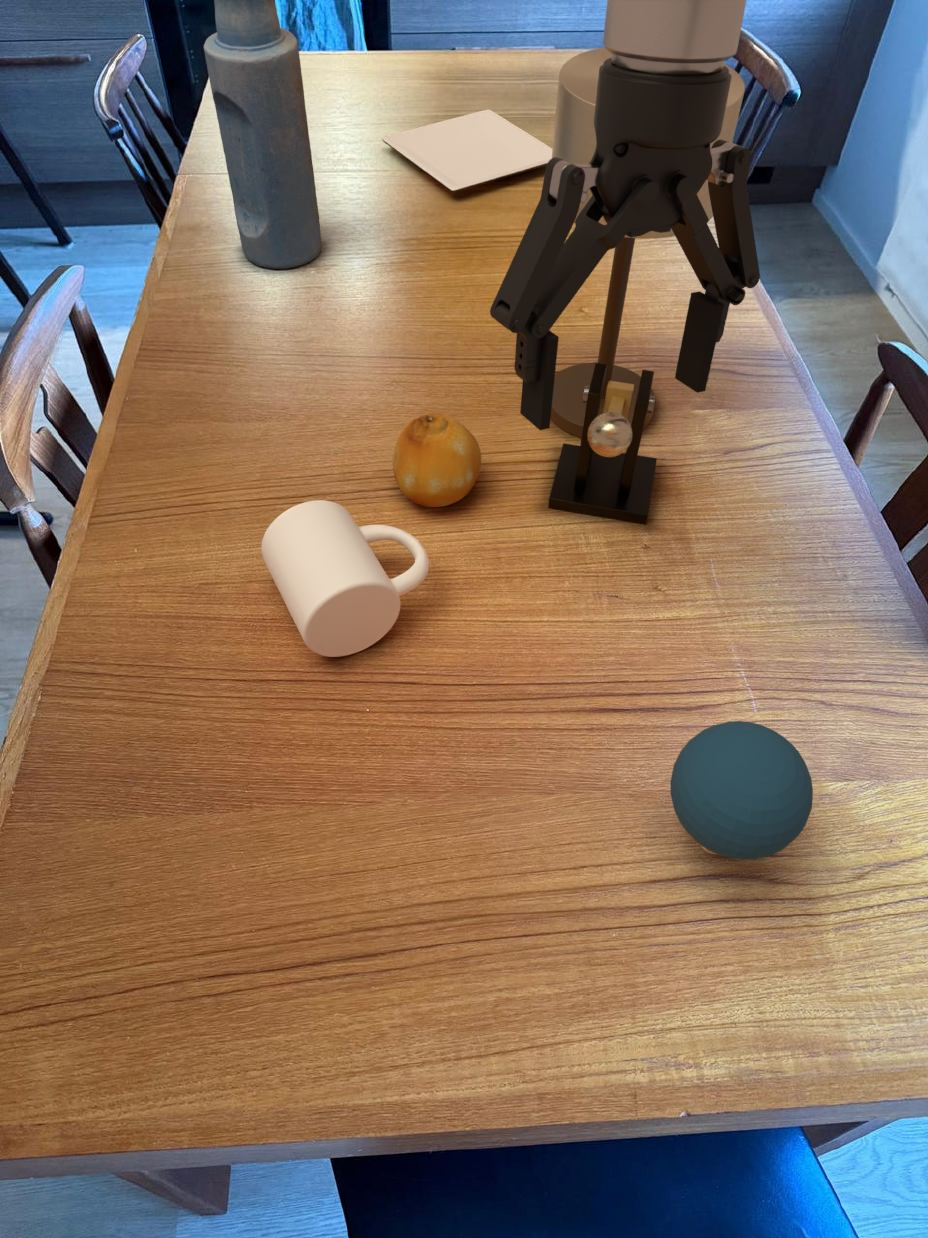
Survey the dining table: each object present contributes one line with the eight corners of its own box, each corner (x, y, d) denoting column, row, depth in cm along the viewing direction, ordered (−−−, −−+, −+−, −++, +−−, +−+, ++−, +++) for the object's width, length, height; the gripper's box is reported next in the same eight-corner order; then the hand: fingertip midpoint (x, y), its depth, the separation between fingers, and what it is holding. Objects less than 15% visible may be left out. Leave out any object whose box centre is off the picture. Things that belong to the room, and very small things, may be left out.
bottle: (338, 250, 110) (310, -43, 87) (274, 280, 106) (226, -21, 83) (289, 222, 114) (250, -65, 91) (226, 250, 110) (167, -45, 87)
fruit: (369, 447, 83) (390, 410, 76) (447, 427, 86) (474, 390, 79) (400, 528, 83) (424, 499, 75) (477, 506, 86) (507, 475, 78)
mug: (310, 671, 70) (297, 605, 64) (268, 585, 75) (252, 517, 69) (448, 619, 73) (448, 552, 67) (398, 540, 79) (394, 472, 73)
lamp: (661, 461, 86) (741, 126, 63) (518, 438, 88) (544, 104, 64) (673, 376, 95) (748, 54, 71) (543, 357, 97) (574, 36, 73)
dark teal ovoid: (627, 812, 63) (659, 718, 53) (731, 775, 65) (778, 678, 55) (688, 923, 58) (735, 841, 48) (798, 879, 60) (863, 792, 50)
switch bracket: (646, 524, 81) (671, 419, 72) (547, 507, 82) (560, 402, 73) (654, 467, 86) (679, 362, 77) (561, 452, 87) (575, 346, 78)
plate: (452, 204, 118) (452, 188, 117) (381, 151, 128) (380, 135, 126) (564, 170, 125) (566, 155, 123) (488, 122, 135) (489, 107, 133)
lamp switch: (626, 465, 64) (635, 421, 62) (582, 458, 64) (589, 413, 63) (634, 417, 78) (641, 380, 76) (597, 411, 78) (604, 374, 77)
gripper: (785, 39, 58) (716, 352, 72) (441, 59, 49) (437, 413, 63) (874, 59, 53) (781, 391, 67) (509, 85, 44) (489, 463, 58)
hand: (615, 402), depth 65 cm, fingers open, 13 cm apart
